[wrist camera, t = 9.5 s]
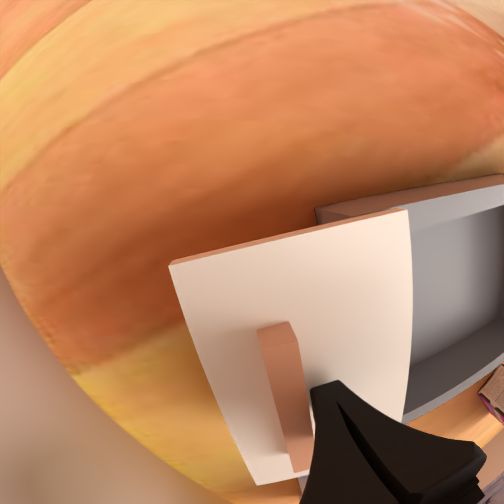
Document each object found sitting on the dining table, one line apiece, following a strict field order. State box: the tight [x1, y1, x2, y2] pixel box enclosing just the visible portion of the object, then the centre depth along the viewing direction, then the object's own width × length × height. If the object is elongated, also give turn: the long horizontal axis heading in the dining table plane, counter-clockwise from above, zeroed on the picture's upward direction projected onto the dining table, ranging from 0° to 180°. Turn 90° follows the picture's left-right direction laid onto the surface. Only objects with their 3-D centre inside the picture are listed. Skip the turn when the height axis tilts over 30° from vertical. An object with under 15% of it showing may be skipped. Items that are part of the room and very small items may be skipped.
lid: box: [168, 208, 413, 485], centre depth 11 cm, size 9×14×2 cm, turn 13°
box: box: [315, 174, 504, 425], centre depth 15 cm, size 18×14×5 cm
